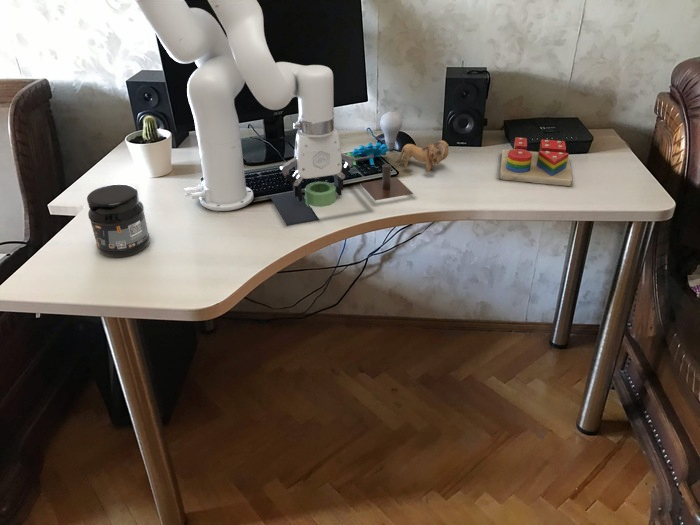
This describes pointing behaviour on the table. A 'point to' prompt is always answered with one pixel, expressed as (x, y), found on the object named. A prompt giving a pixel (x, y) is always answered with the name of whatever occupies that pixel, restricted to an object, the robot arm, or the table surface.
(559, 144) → the shape sorter
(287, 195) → the mat
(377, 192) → the stand
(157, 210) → the table surface
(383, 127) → the lightbulb
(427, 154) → the lion figurine
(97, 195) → the supplement container
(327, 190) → the ring
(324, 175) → the robot arm
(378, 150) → the dinosaur figurine
